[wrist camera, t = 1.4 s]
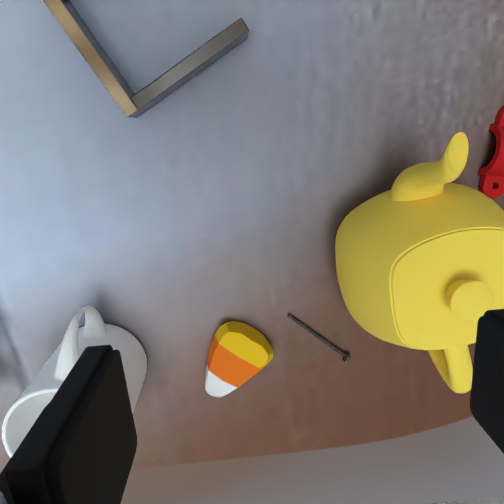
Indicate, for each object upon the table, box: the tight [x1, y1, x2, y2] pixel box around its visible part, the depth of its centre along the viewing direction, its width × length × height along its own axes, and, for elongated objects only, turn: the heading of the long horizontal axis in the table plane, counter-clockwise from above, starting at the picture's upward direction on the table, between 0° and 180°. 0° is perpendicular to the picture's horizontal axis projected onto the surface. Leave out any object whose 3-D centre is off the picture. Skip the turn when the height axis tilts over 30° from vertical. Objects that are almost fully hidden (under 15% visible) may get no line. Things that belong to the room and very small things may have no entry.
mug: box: [2, 306, 147, 458], centre depth 35 cm, size 9×12×11 cm
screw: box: [288, 314, 351, 361], centre depth 40 cm, size 8×1×1 cm, turn 52°
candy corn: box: [205, 321, 274, 397], centre depth 40 cm, size 6×3×8 cm
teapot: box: [335, 132, 504, 393], centre depth 32 cm, size 13×20×12 cm
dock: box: [43, 0, 249, 118], centre depth 30 cm, size 10×11×3 cm
